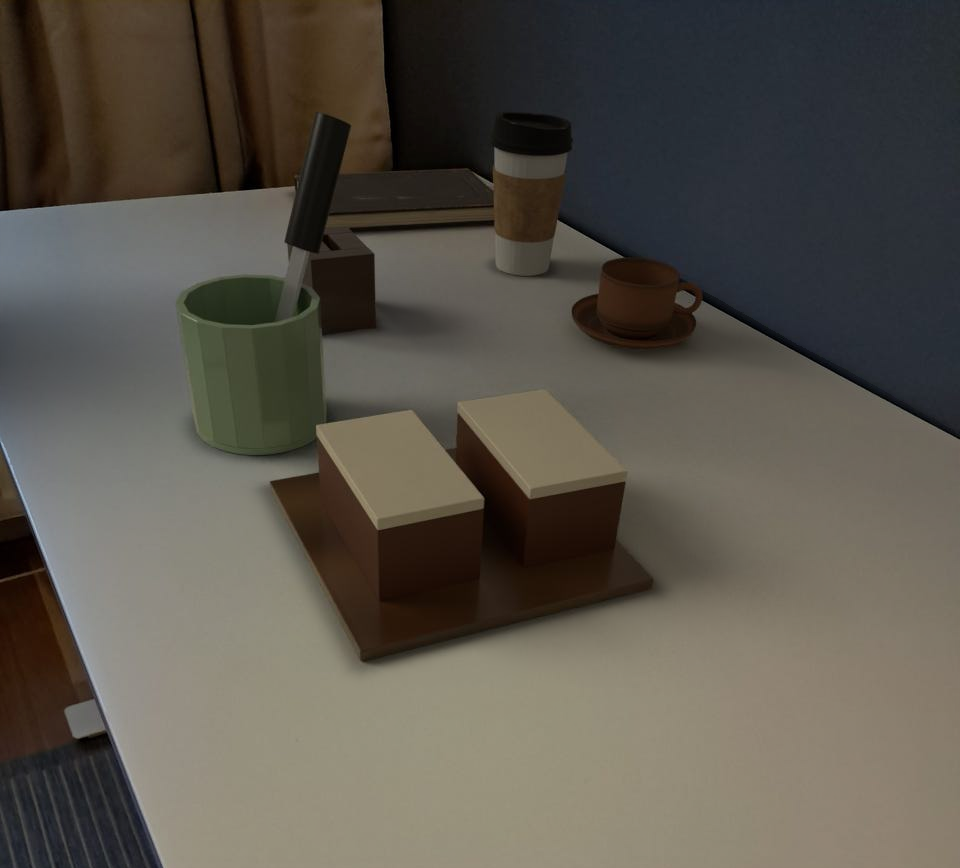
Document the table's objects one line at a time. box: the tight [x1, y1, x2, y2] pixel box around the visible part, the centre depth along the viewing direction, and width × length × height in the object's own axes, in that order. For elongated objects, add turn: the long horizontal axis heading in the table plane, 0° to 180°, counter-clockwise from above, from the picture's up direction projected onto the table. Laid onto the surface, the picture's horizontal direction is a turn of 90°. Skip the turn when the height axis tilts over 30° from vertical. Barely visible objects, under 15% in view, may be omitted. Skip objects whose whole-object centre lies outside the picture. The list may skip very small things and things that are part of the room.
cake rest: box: [316, 409, 484, 601], centre depth 63 cm, size 12×7×6 cm, turn 24°
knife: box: [275, 111, 352, 322], centre depth 73 cm, size 4×3×22 cm
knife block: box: [286, 226, 377, 336], centre depth 93 cm, size 8×6×7 cm
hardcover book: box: [293, 168, 495, 233], centre depth 121 cm, size 16×23×2 cm
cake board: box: [269, 447, 655, 662], centre depth 67 cm, size 20×20×1 cm
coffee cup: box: [490, 111, 574, 277], centre depth 103 cm, size 8×8×15 cm
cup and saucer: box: [571, 256, 703, 350], centre depth 93 cm, size 12×12×6 cm
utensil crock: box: [175, 274, 328, 456], centre depth 74 cm, size 10×10×10 cm
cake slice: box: [455, 388, 628, 568], centre depth 66 cm, size 12×7×6 cm, turn 23°
